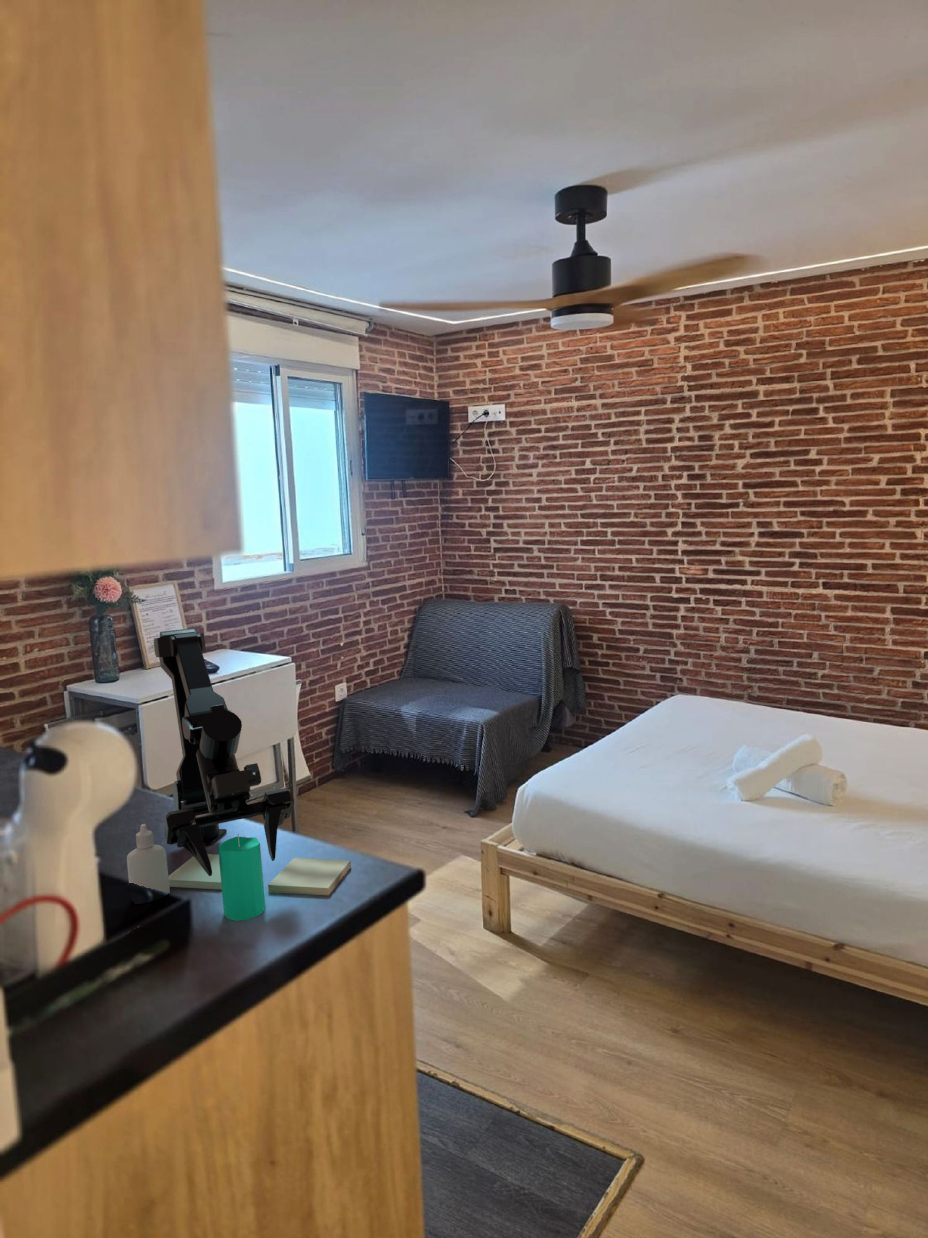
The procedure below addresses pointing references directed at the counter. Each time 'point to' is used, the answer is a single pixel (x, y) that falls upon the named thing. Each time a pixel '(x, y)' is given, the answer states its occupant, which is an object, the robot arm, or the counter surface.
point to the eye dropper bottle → (148, 863)
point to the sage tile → (197, 875)
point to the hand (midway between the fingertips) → (242, 867)
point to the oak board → (310, 876)
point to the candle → (241, 878)
